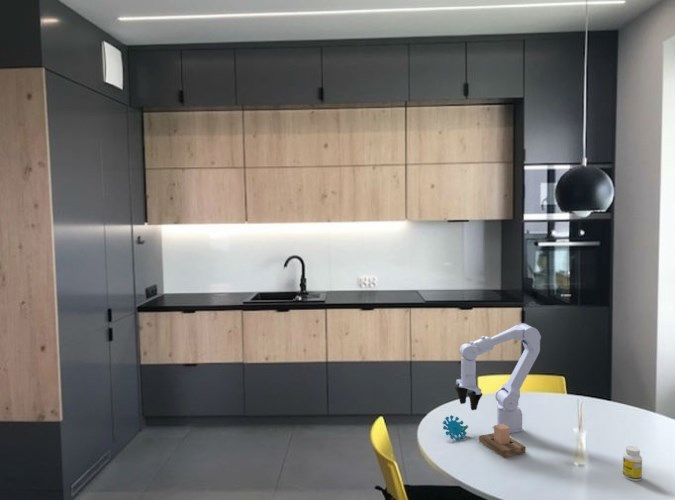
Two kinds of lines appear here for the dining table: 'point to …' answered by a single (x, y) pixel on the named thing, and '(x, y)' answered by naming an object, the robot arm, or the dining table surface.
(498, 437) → the peg
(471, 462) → the dining table surface
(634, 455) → the supplement bottle
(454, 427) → the gear
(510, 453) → the socket block
